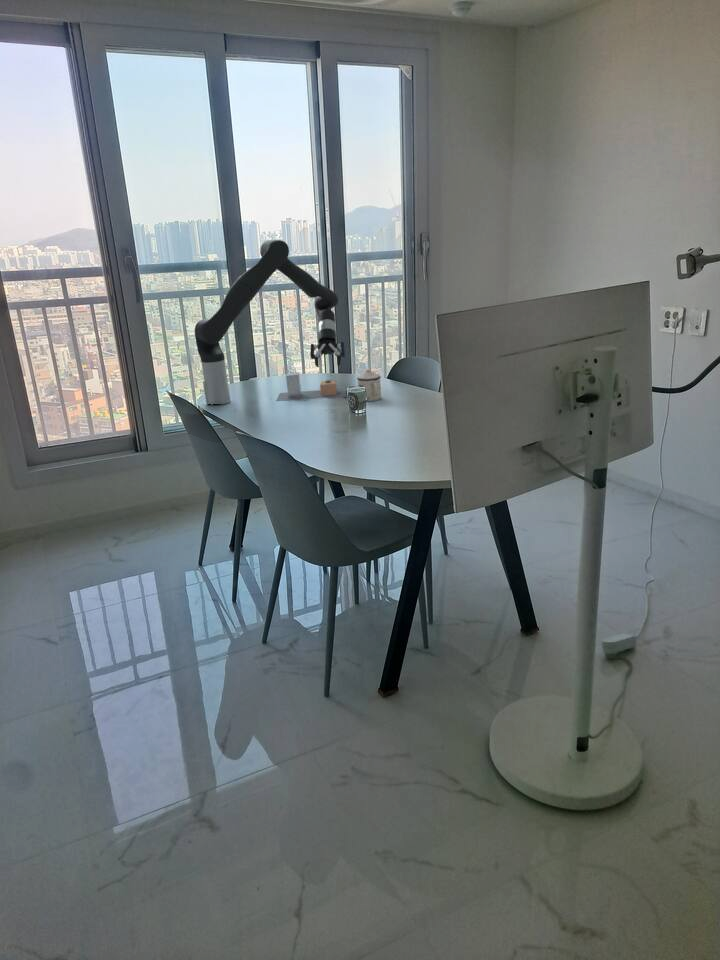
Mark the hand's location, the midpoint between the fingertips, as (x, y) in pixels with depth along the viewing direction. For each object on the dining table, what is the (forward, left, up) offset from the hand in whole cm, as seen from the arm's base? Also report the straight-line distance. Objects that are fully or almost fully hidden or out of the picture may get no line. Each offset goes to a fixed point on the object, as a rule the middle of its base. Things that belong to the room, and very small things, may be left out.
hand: (328, 365), depth 270 cm
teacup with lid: (+17, -19, -11) cm, 28 cm away
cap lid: (0, -6, -10) cm, 12 cm away
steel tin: (-14, -6, -10) cm, 19 cm away
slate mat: (-7, -6, -11) cm, 14 cm away
